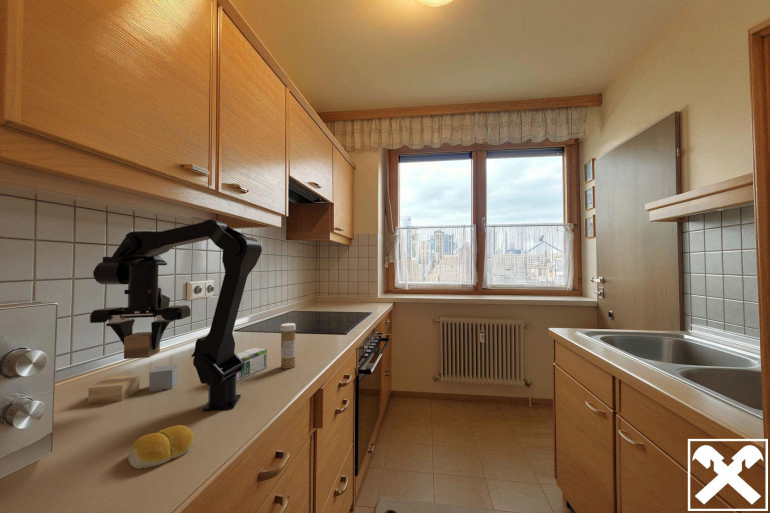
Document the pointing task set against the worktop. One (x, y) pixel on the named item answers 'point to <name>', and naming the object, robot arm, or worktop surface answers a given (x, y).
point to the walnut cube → (139, 345)
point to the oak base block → (113, 389)
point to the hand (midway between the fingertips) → (142, 349)
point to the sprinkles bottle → (288, 345)
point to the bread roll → (160, 446)
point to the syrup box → (252, 362)
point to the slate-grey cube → (163, 377)
